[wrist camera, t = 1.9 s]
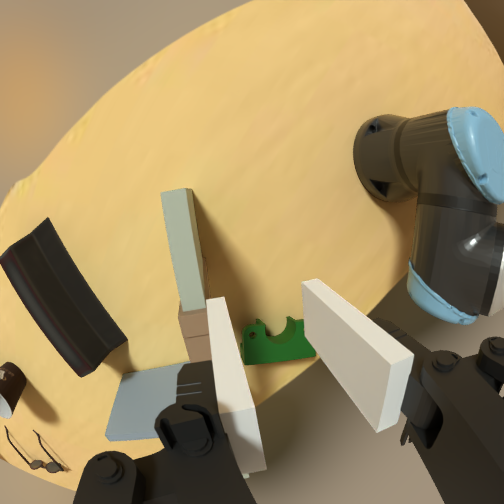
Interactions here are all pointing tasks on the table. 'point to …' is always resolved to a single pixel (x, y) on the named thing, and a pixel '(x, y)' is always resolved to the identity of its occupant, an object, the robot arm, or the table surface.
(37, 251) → the barrier
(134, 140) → the table surface
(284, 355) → the clamp
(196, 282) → the door frame
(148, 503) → the robot arm
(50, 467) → the eyeglasses
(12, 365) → the coffee mug
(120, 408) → the door
